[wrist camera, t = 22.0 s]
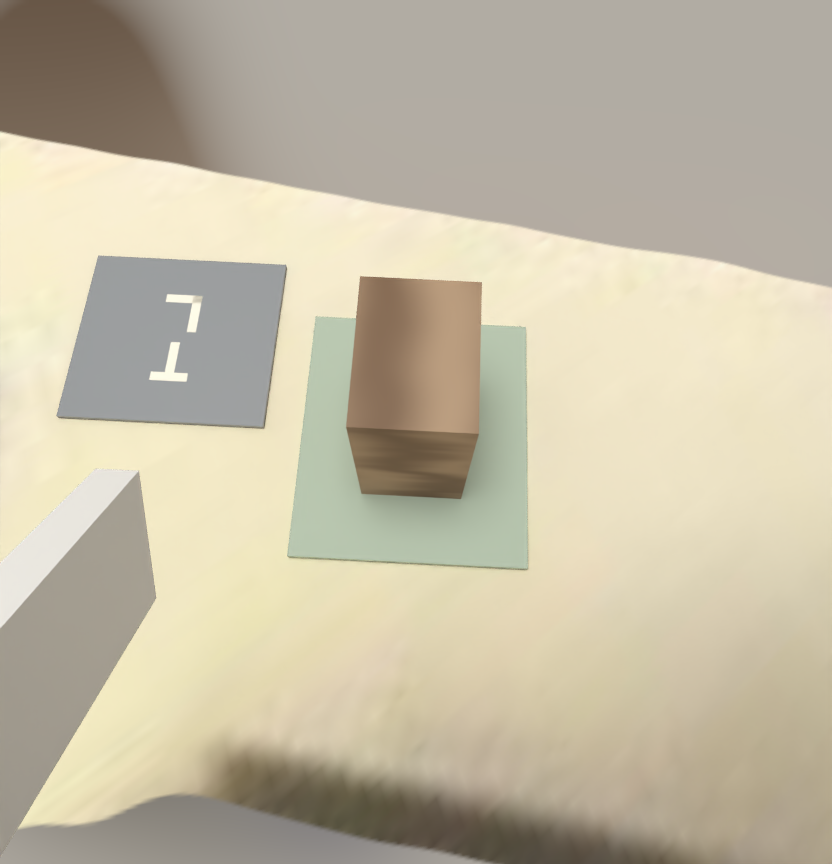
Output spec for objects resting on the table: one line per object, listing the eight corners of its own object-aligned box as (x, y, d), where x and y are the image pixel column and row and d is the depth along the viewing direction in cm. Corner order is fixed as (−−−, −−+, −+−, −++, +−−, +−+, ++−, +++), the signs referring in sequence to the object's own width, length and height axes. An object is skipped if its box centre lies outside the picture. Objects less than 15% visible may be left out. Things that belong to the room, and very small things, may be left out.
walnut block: (464, 379, 44) (481, 282, 33) (461, 499, 41) (478, 433, 31) (371, 374, 44) (360, 276, 33) (361, 493, 41) (345, 426, 31)
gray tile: (286, 267, 47) (285, 264, 47) (263, 428, 43) (262, 426, 42) (100, 258, 47) (98, 255, 47) (58, 417, 43) (56, 415, 43)
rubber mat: (524, 330, 45) (525, 326, 45) (526, 569, 40) (527, 568, 39) (316, 319, 46) (315, 316, 45) (288, 557, 40) (287, 555, 39)
